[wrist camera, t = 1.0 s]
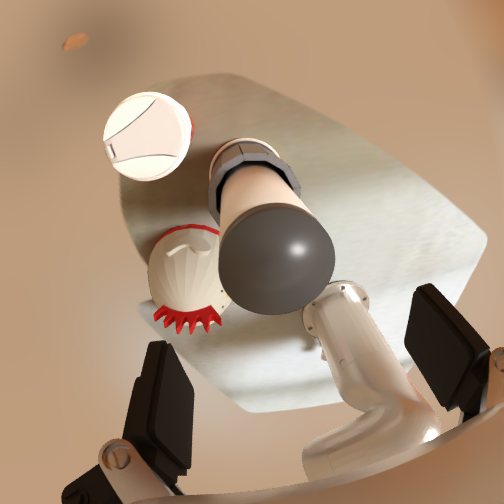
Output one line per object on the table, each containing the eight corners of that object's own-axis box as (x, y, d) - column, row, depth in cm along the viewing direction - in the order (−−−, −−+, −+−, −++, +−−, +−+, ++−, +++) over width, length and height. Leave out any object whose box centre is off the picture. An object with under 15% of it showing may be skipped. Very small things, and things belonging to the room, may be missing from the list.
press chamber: (281, 208, 41) (302, 244, 30) (210, 209, 41) (205, 248, 29) (283, 138, 37) (308, 147, 26) (208, 138, 36) (200, 148, 25)
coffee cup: (154, 168, 37) (117, 197, 24) (135, 114, 34) (86, 115, 20) (211, 147, 37) (203, 164, 23) (193, 90, 33) (173, 75, 20)
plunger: (279, 215, 33) (327, 311, 17) (222, 217, 32) (221, 317, 17) (281, 159, 30) (341, 210, 14) (221, 160, 30) (215, 212, 14)
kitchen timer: (239, 302, 48) (245, 370, 35) (158, 303, 47) (139, 369, 34) (239, 222, 42) (246, 276, 29) (145, 225, 41) (112, 278, 27)
